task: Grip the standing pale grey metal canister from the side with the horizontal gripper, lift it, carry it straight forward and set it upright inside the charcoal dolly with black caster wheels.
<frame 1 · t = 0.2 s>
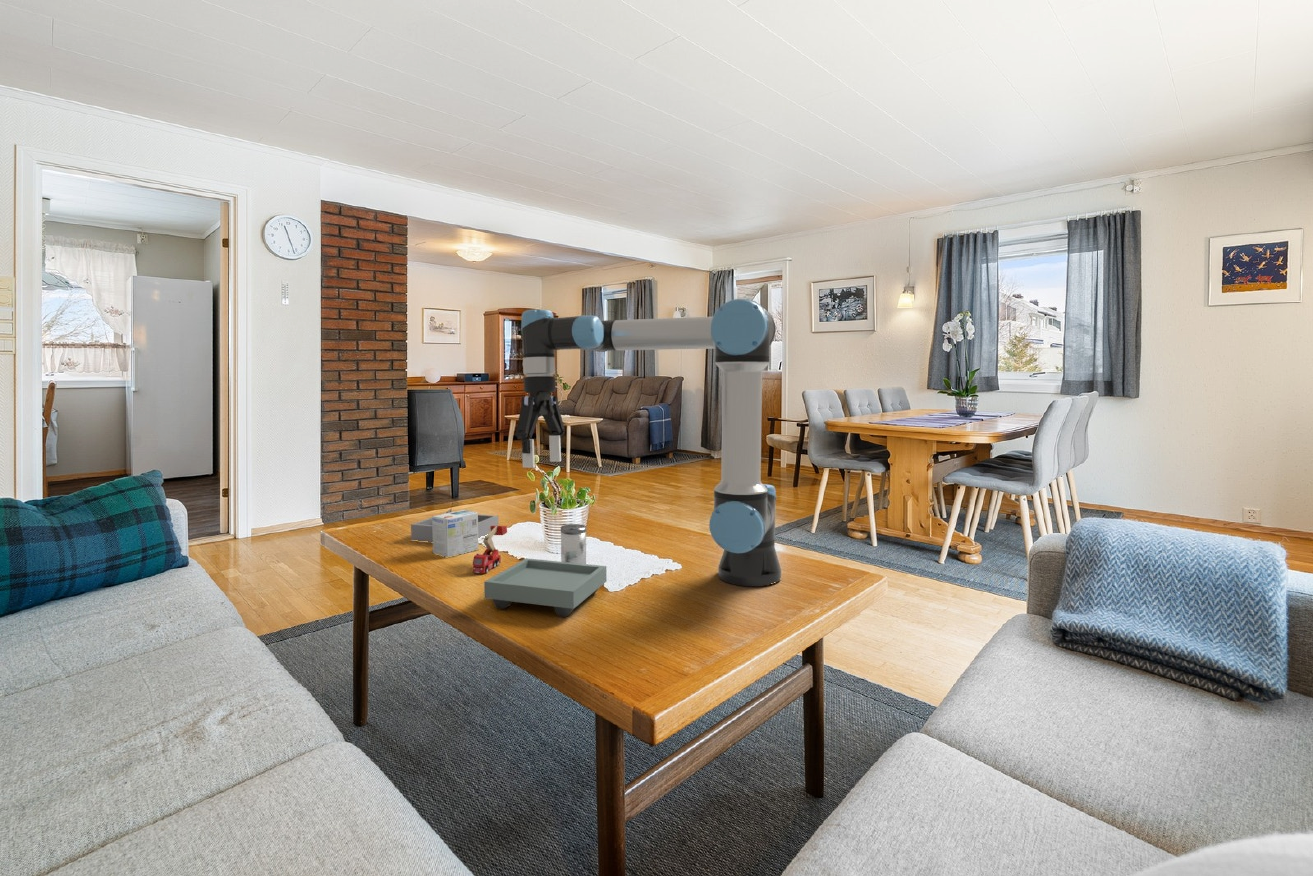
hand: (542, 464, 157), 27 cm above the table, tool pointing down, fingers open, 13 cm apart
toy fire truck: (490, 567, 165), on the table
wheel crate: (456, 536, 195), on the table
canister: (573, 575, 158), on the table
dolly: (548, 600, 141), on the table
caster wheel: (456, 537, 195), resting in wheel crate
light bulb box: (456, 553, 178), on the table
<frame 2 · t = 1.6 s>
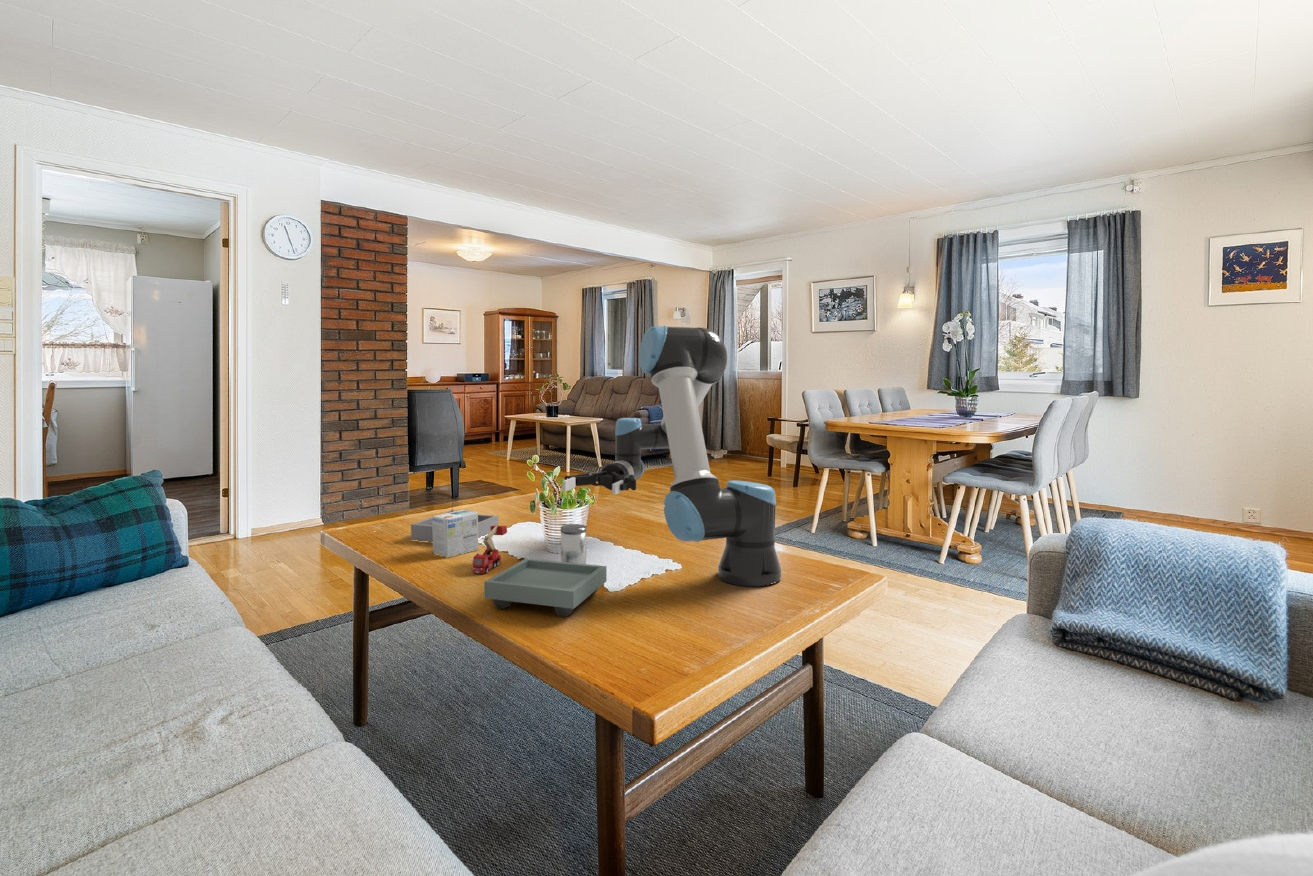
hand: (588, 487, 165), 20 cm above the table, tool horizontal, fingers open, 13 cm apart
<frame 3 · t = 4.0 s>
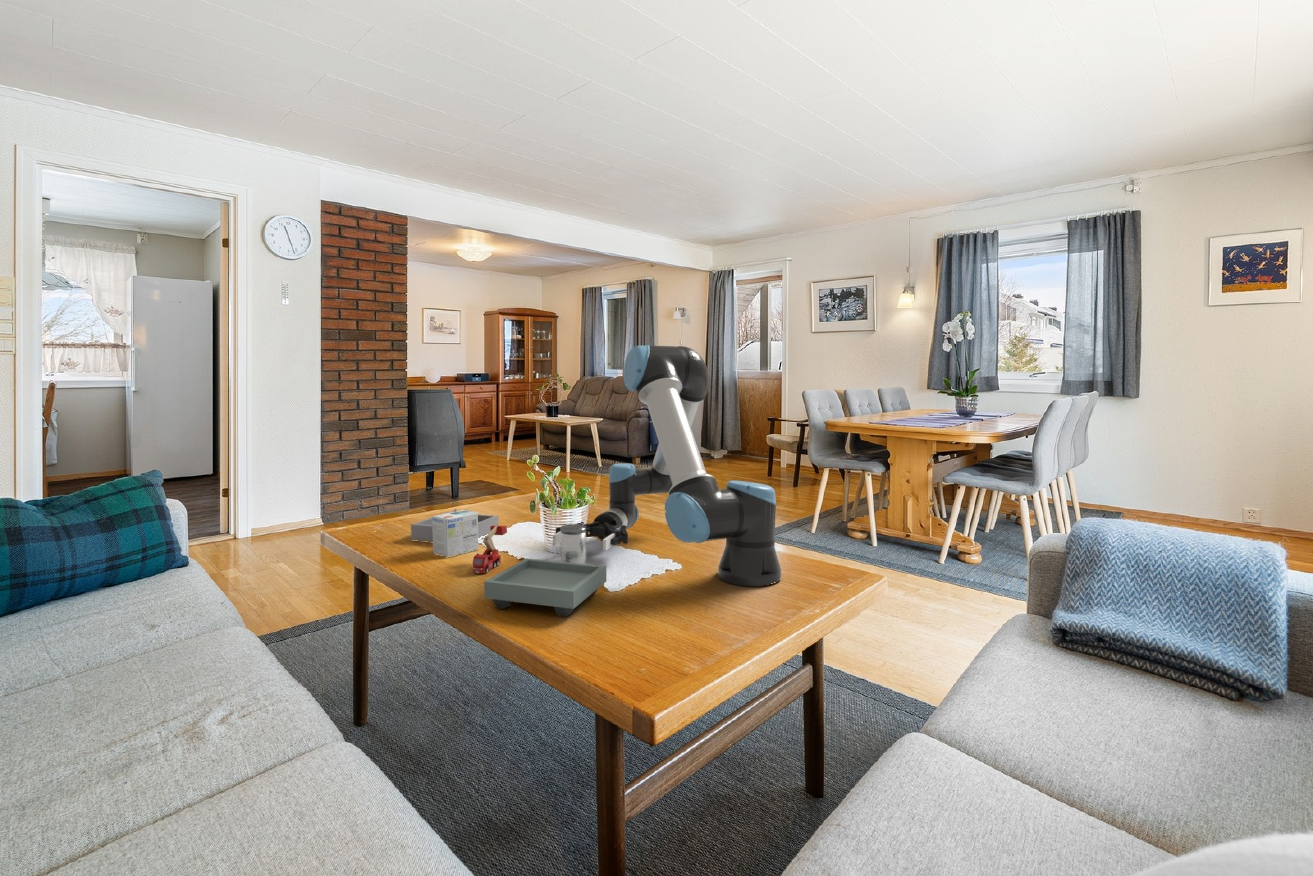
hand: (578, 542, 162), 7 cm above the table, tool horizontal, fingers open, 13 cm apart
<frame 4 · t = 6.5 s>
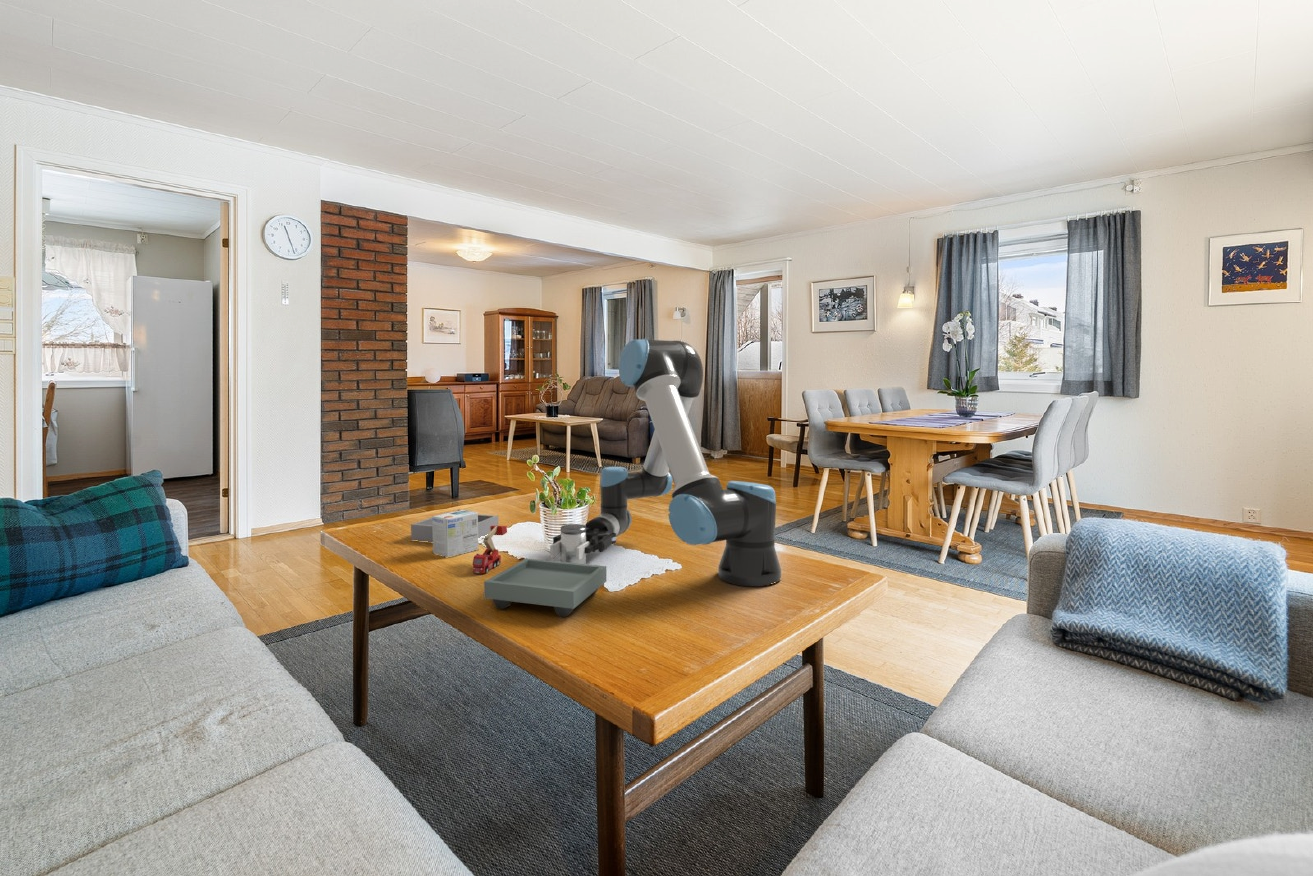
hand: (564, 552, 153), 7 cm above the table, tool horizontal, fingers closed on canister, 6 cm apart
canister: (573, 575, 158), on the table, touching gripper
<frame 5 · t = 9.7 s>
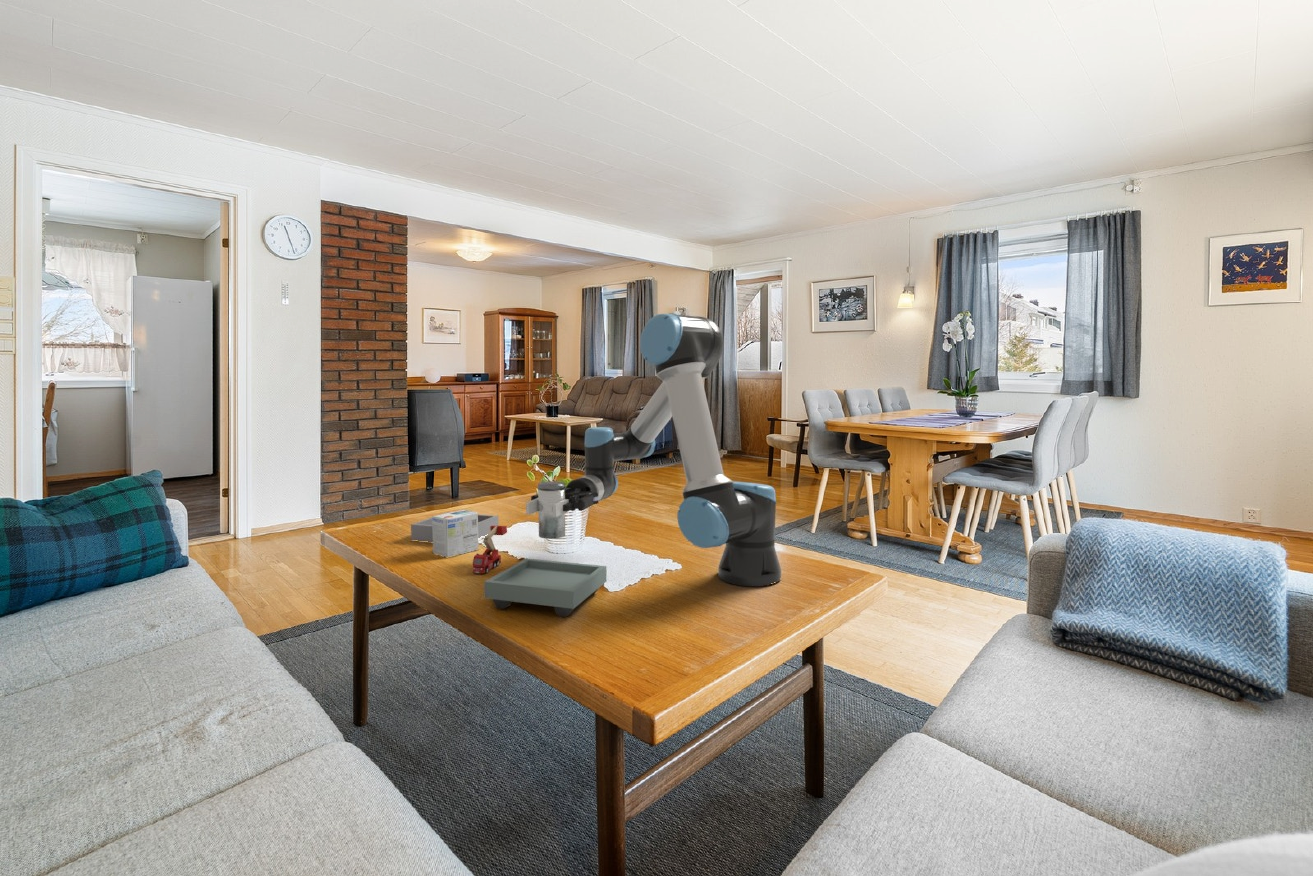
hand: (541, 509, 144), 19 cm above the table, tool horizontal, fingers closed on canister, 6 cm apart
canister: (552, 535, 149), point 12 cm above the table, touching gripper
when the fingers open (13 cm above the table, at t = 12.8 s): canister drops 2 cm, resting on dolly.
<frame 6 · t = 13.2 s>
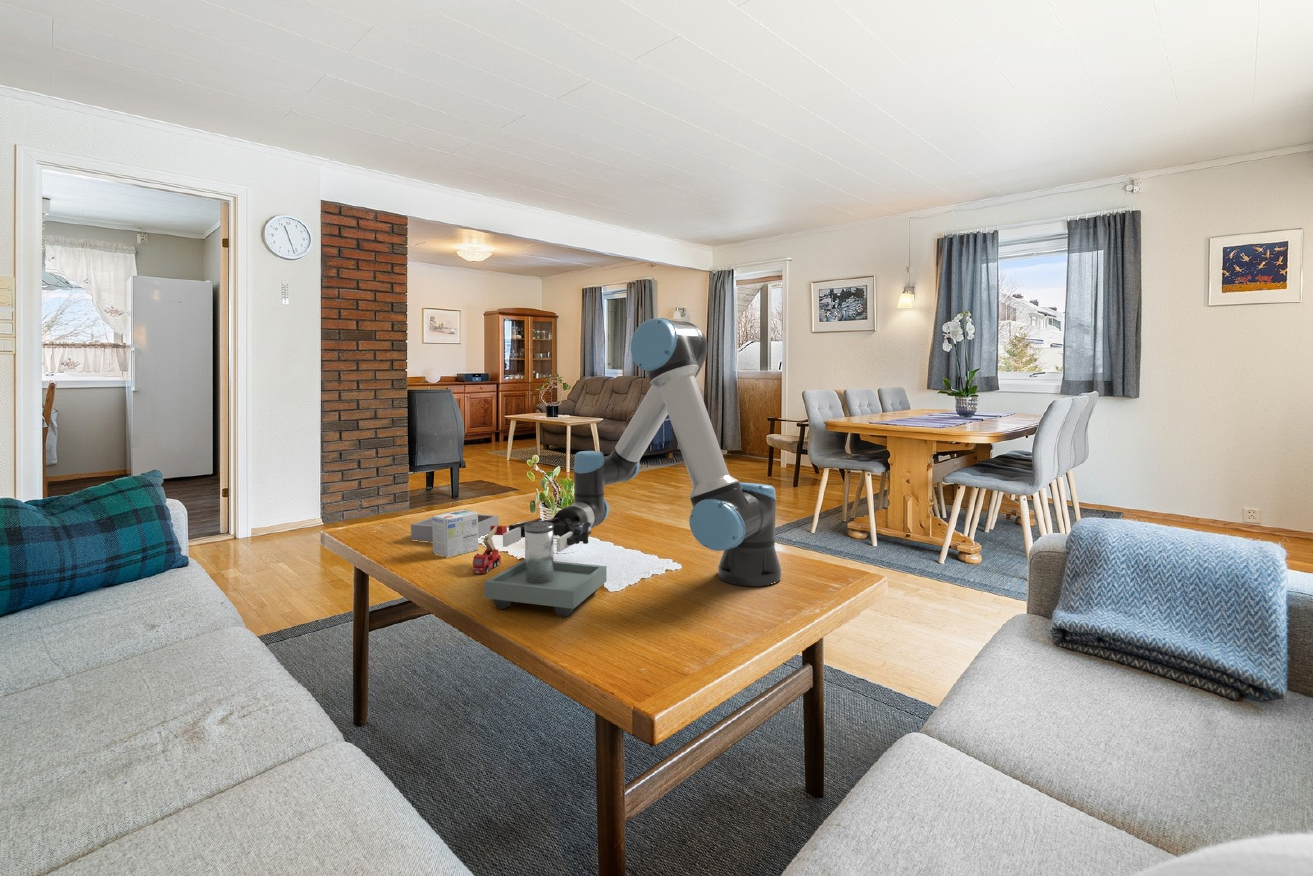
hand: (530, 543, 136), 13 cm above the table, tool horizontal, fingers open, 12 cm apart
canister: (539, 579, 141), point 5 cm above the table, touching dolly
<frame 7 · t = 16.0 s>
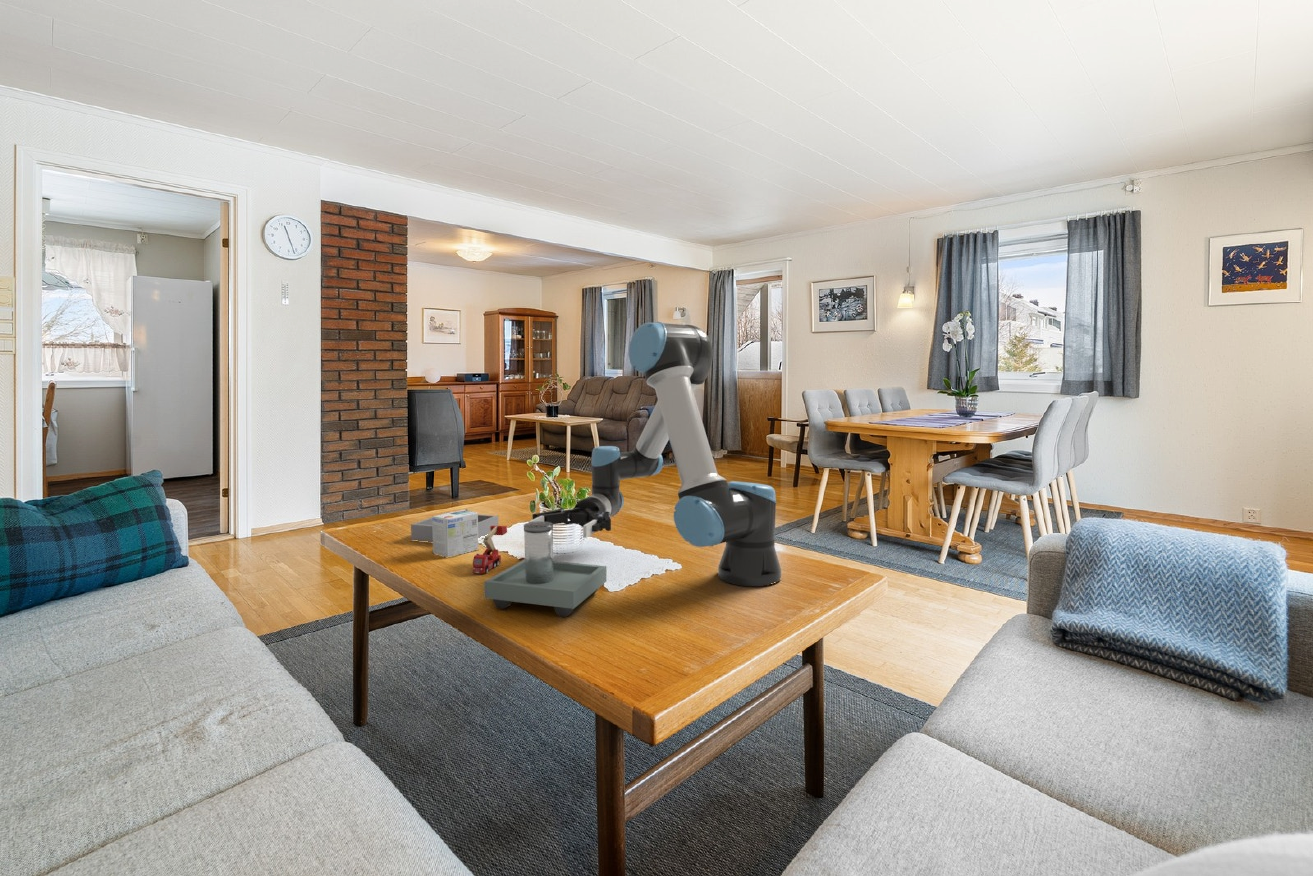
hand: (556, 529, 148), 14 cm above the table, tool horizontal, fingers open, 13 cm apart
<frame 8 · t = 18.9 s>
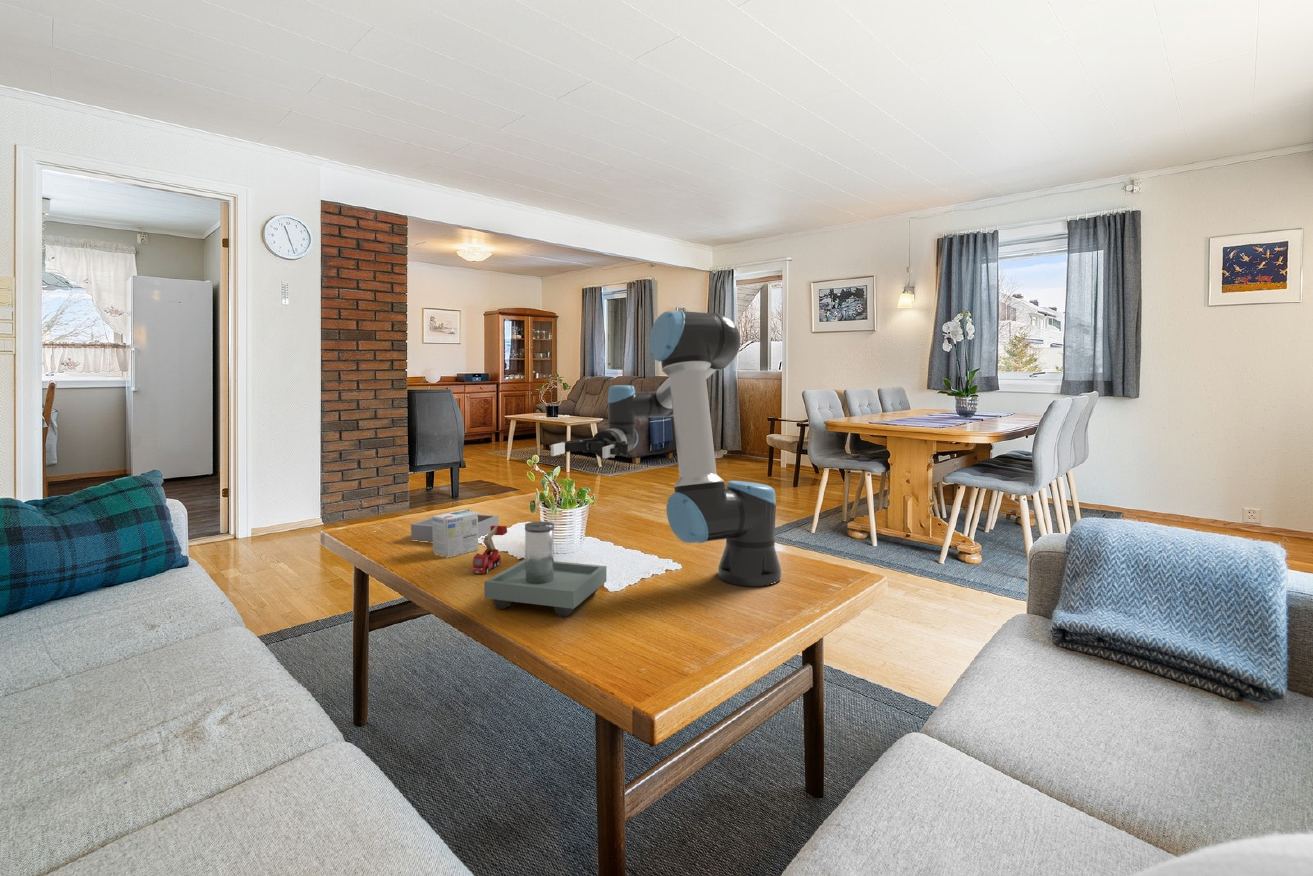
hand: (577, 451, 158), 30 cm above the table, tool horizontal, fingers open, 13 cm apart
at the end: canister inside the target area on the dolly (2.0 cm from its centre), point 4.6 cm above the dolly's base; canister tilted 1°; the gripper is holding nothing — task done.
